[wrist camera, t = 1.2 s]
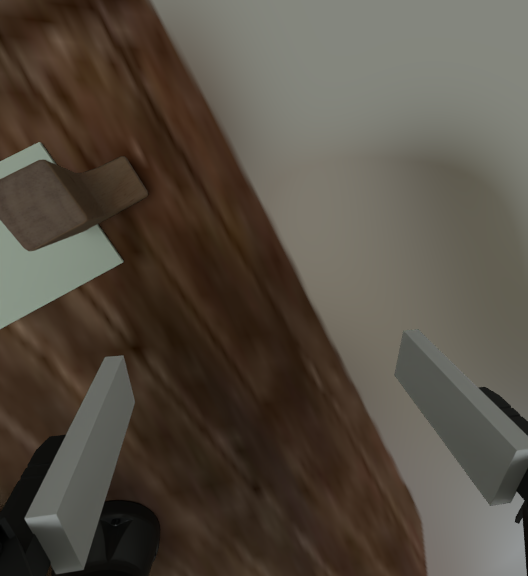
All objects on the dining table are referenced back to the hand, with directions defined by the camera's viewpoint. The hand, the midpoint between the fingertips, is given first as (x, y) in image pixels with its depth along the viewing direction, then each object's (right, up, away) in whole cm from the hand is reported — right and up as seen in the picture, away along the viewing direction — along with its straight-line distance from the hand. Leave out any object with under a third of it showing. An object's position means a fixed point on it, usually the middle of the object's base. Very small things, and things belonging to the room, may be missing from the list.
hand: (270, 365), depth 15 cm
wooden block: (-19, +14, +22) cm, 33 cm away
